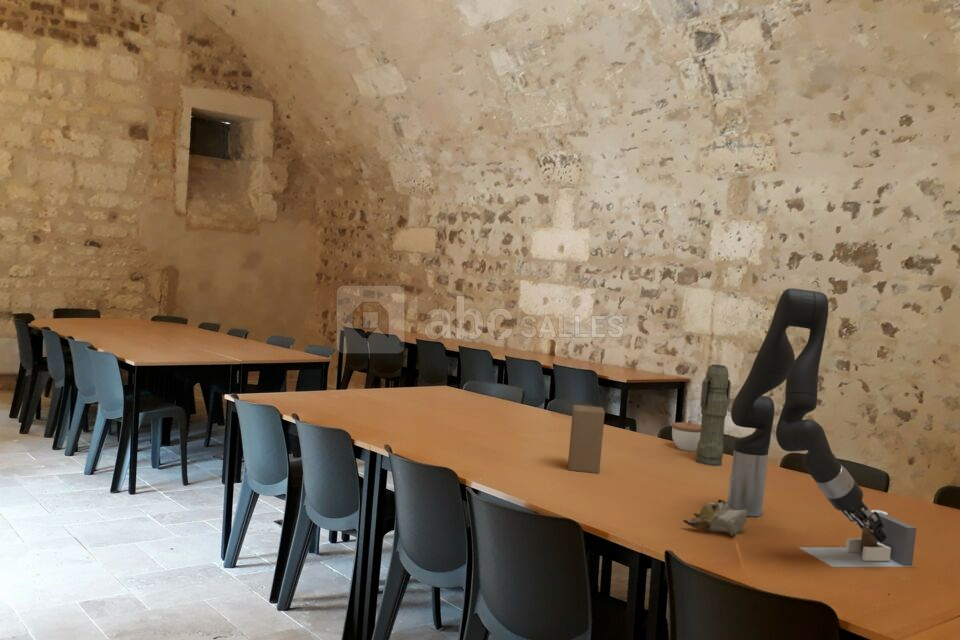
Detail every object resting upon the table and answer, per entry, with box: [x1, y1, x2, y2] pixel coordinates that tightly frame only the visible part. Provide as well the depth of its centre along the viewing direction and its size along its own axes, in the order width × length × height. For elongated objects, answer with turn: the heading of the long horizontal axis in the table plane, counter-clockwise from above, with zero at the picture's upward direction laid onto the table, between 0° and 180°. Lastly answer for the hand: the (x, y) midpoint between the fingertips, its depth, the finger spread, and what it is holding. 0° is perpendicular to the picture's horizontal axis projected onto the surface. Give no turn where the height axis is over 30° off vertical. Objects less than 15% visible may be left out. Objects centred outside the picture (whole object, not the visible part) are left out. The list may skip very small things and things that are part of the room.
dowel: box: [860, 520, 878, 553], centre depth 201 cm, size 4×4×9 cm
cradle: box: [845, 537, 891, 561], centre depth 201 cm, size 7×7×3 cm
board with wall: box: [798, 512, 917, 568], centre depth 200 cm, size 22×13×10 cm, turn 103°
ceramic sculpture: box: [682, 499, 748, 537], centre depth 216 cm, size 11×9×15 cm
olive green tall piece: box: [696, 364, 732, 467], centre depth 299 cm, size 9×12×35 cm
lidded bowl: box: [671, 419, 701, 452], centre depth 321 cm, size 13×13×11 cm
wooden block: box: [567, 404, 606, 474], centre depth 274 cm, size 10×10×20 cm
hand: (876, 536), depth 201 cm, fingers closed on dowel, 3 cm apart
